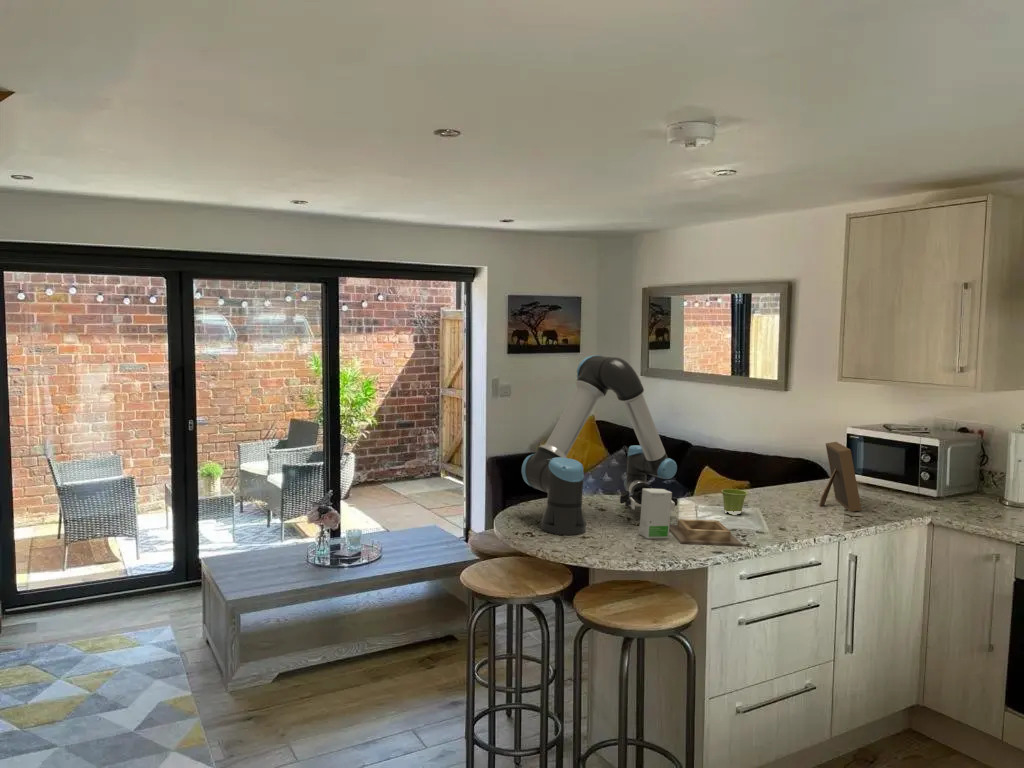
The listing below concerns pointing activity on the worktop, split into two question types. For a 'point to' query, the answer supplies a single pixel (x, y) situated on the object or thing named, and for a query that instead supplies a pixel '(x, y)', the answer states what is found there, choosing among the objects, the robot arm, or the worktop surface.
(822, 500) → the photo frame
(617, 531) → the worktop surface
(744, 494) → the plant pot
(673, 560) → the worktop surface
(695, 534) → the socket board
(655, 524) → the skincare box
